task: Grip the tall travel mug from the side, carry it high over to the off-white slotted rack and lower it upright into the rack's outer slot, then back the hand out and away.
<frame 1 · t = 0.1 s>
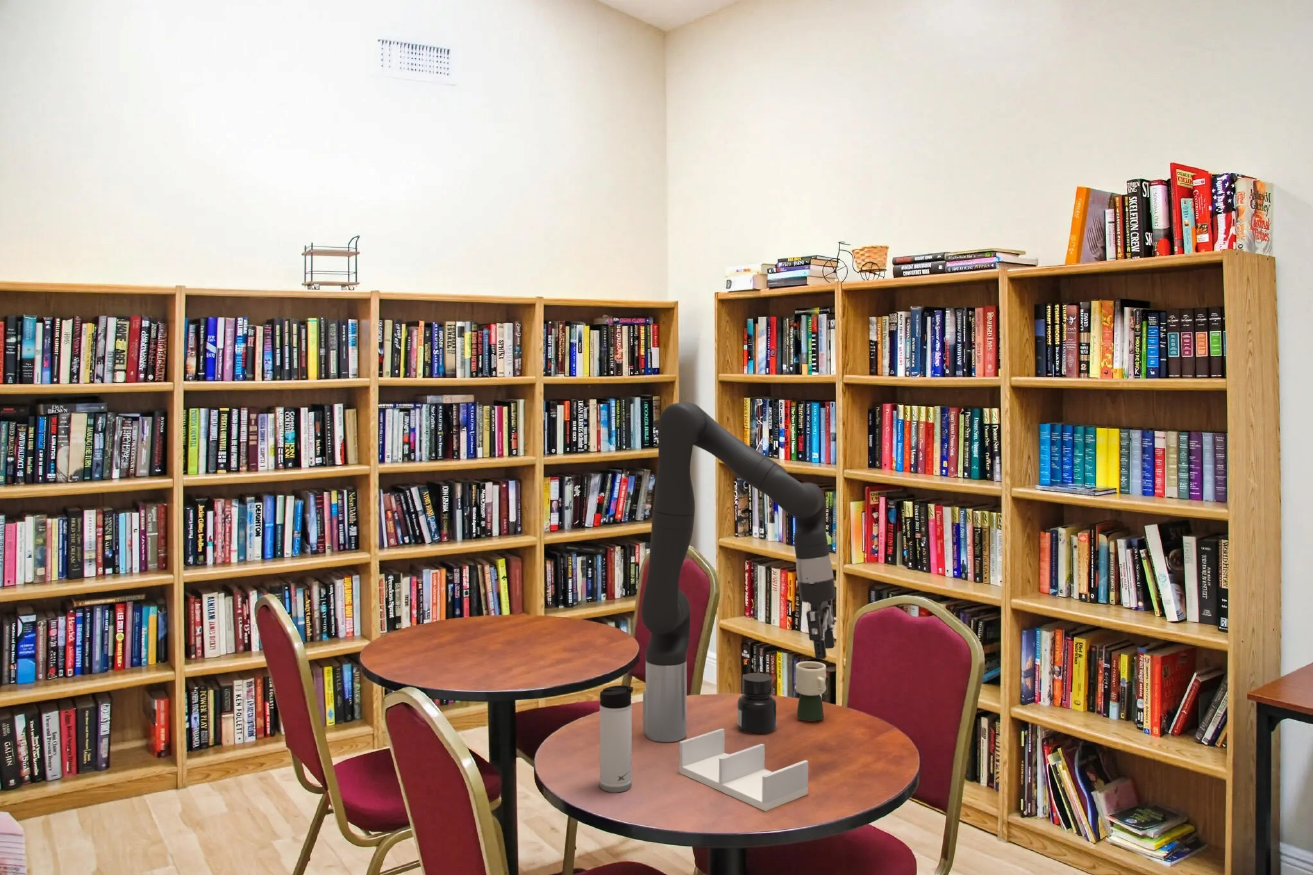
hand: (825, 653, 215), 22 cm above the table, tool pointing down, fingers open, 8 cm apart
rack: (742, 783, 203), on the table
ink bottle: (756, 729, 234), on the table
travel mug: (616, 787, 201), on the table
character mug: (810, 720, 240), on the table
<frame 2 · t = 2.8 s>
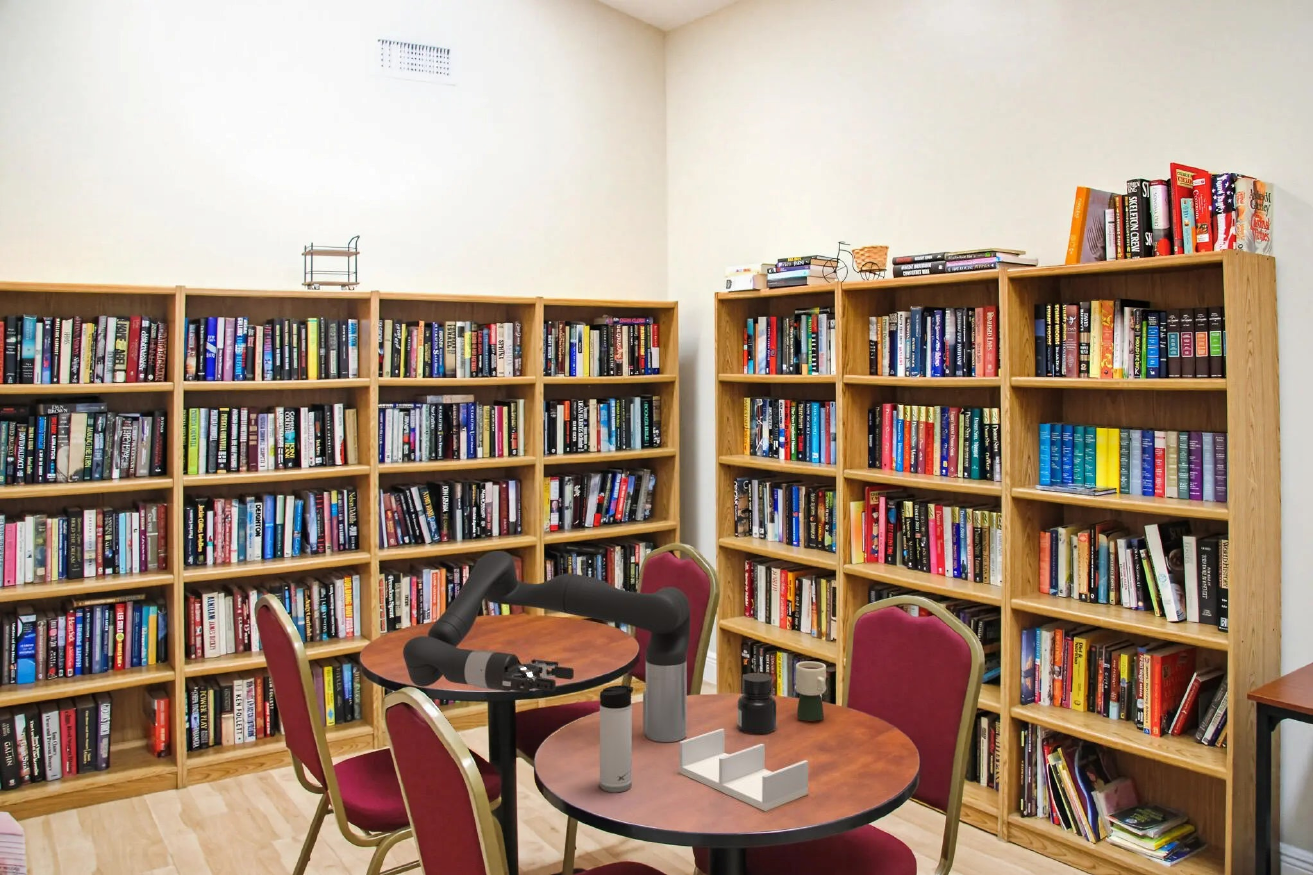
hand: (564, 679, 203), 20 cm above the table, tool horizontal, fingers open, 8 cm apart
nothing on the table moved.
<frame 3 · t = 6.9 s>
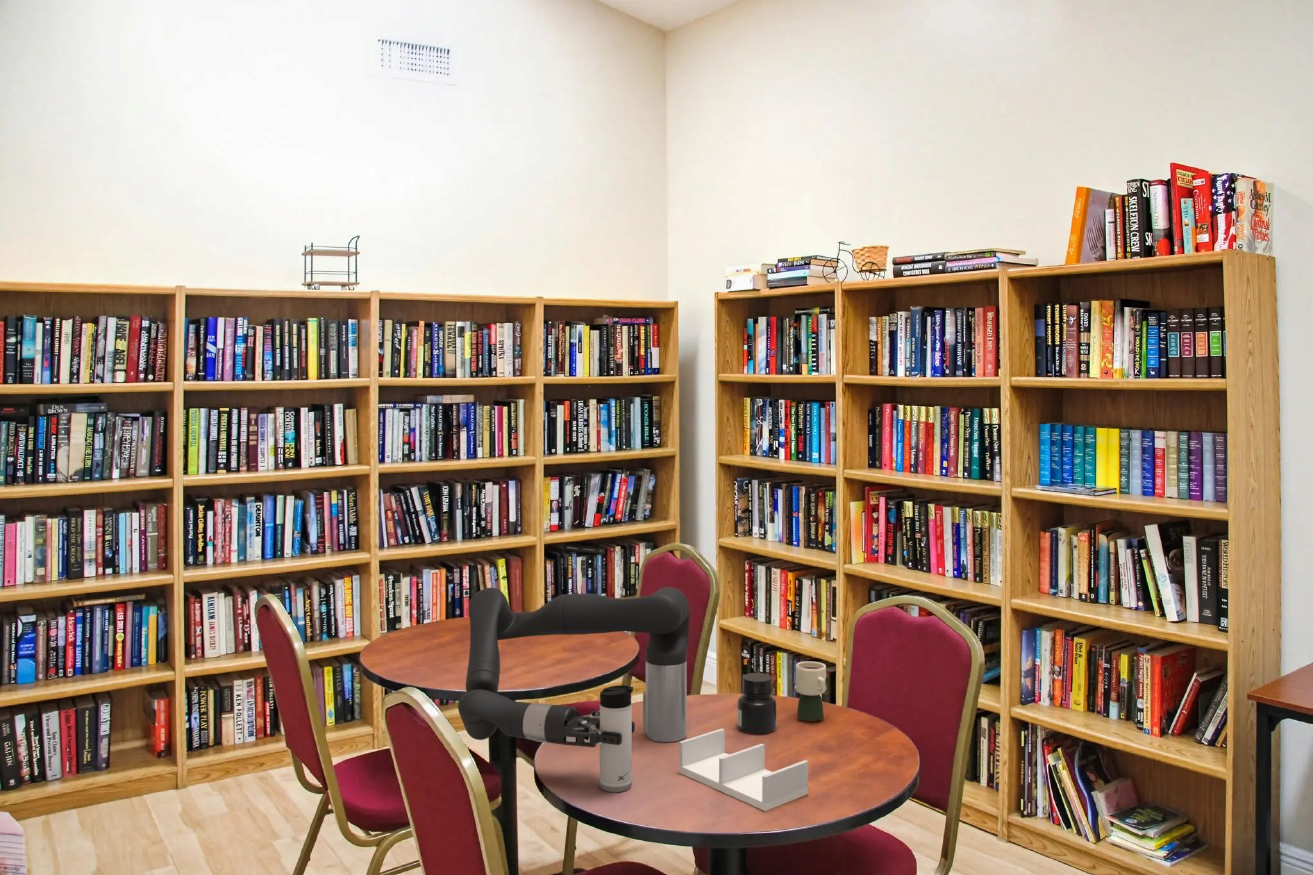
hand: (627, 733, 200), 11 cm above the table, tool horizontal, fingers closed on travel mug, 6 cm apart
travel mug: (616, 787, 201), on the table, touching gripper
everything else where it was.
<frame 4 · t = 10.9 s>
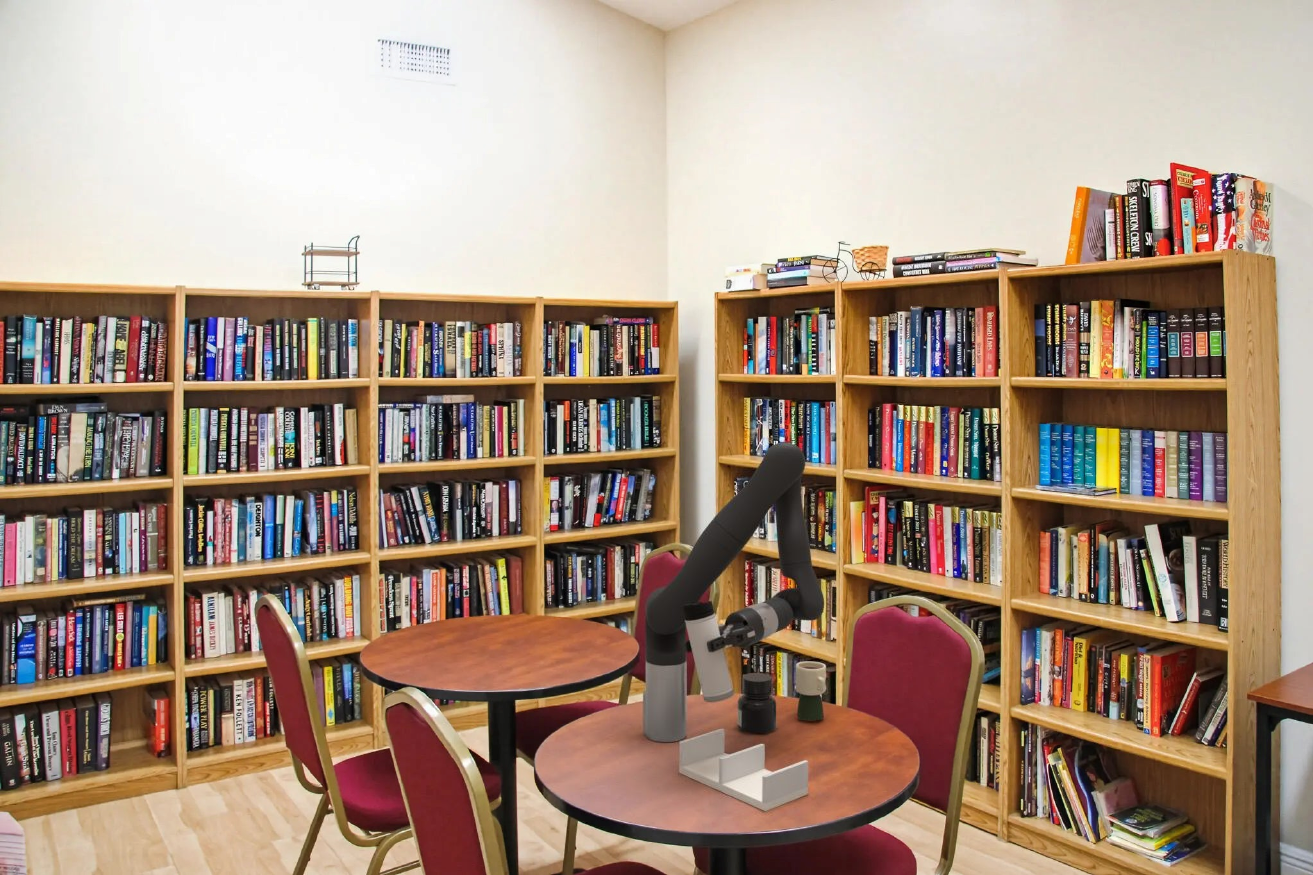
hand: (697, 647, 203), 27 cm above the table, tool horizontal, fingers closed on travel mug, 6 cm apart
travel mug: (718, 698, 204), point 16 cm above the table, touching gripper
everything else where it was.
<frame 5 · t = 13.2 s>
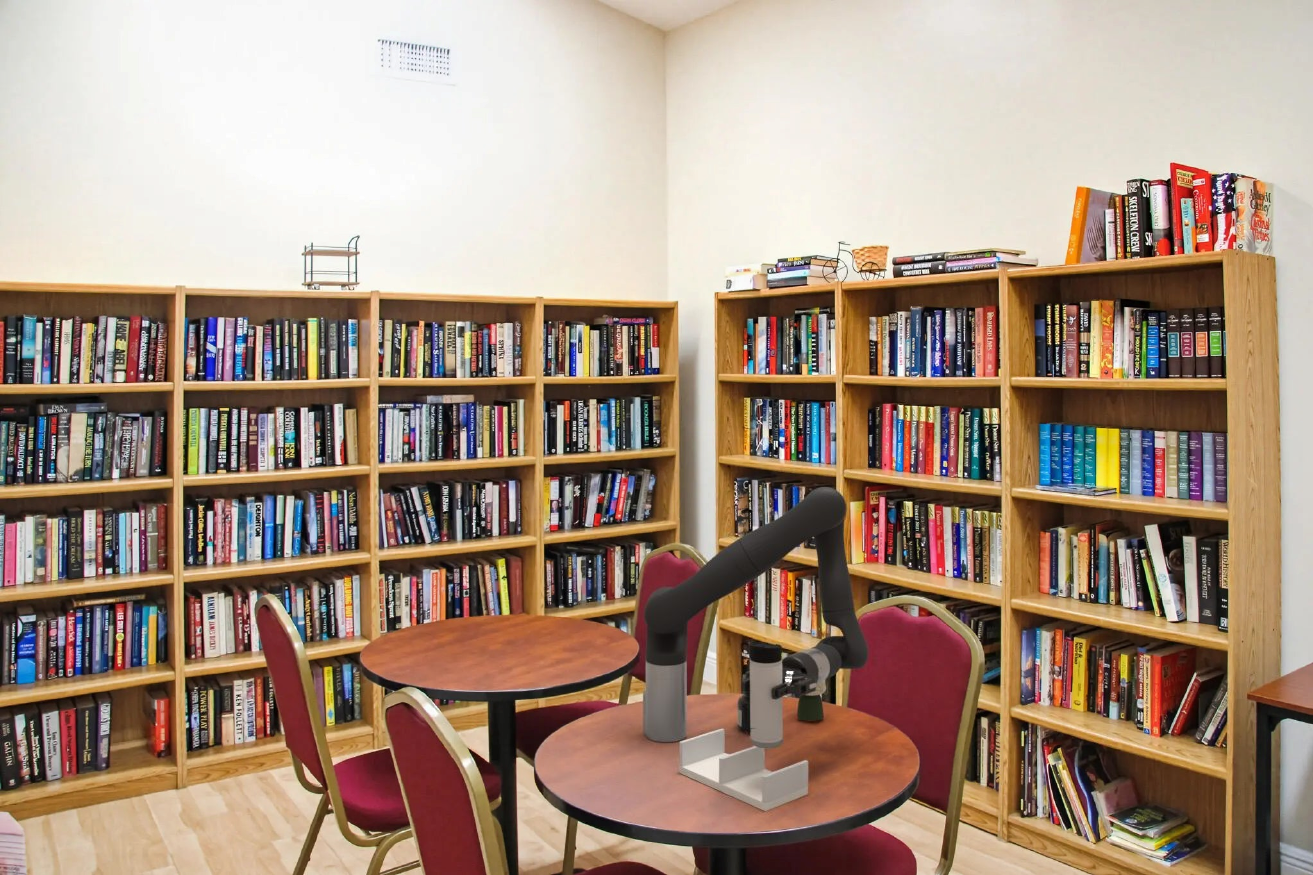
hand: (758, 690, 195), 21 cm above the table, tool horizontal, fingers closed on travel mug, 6 cm apart
travel mug: (766, 744, 198), point 10 cm above the table, touching gripper
everything else where it was.
when the fingers open (14 cm above the table, at t = 15.2 s): travel mug stays where it is, resting on rack.
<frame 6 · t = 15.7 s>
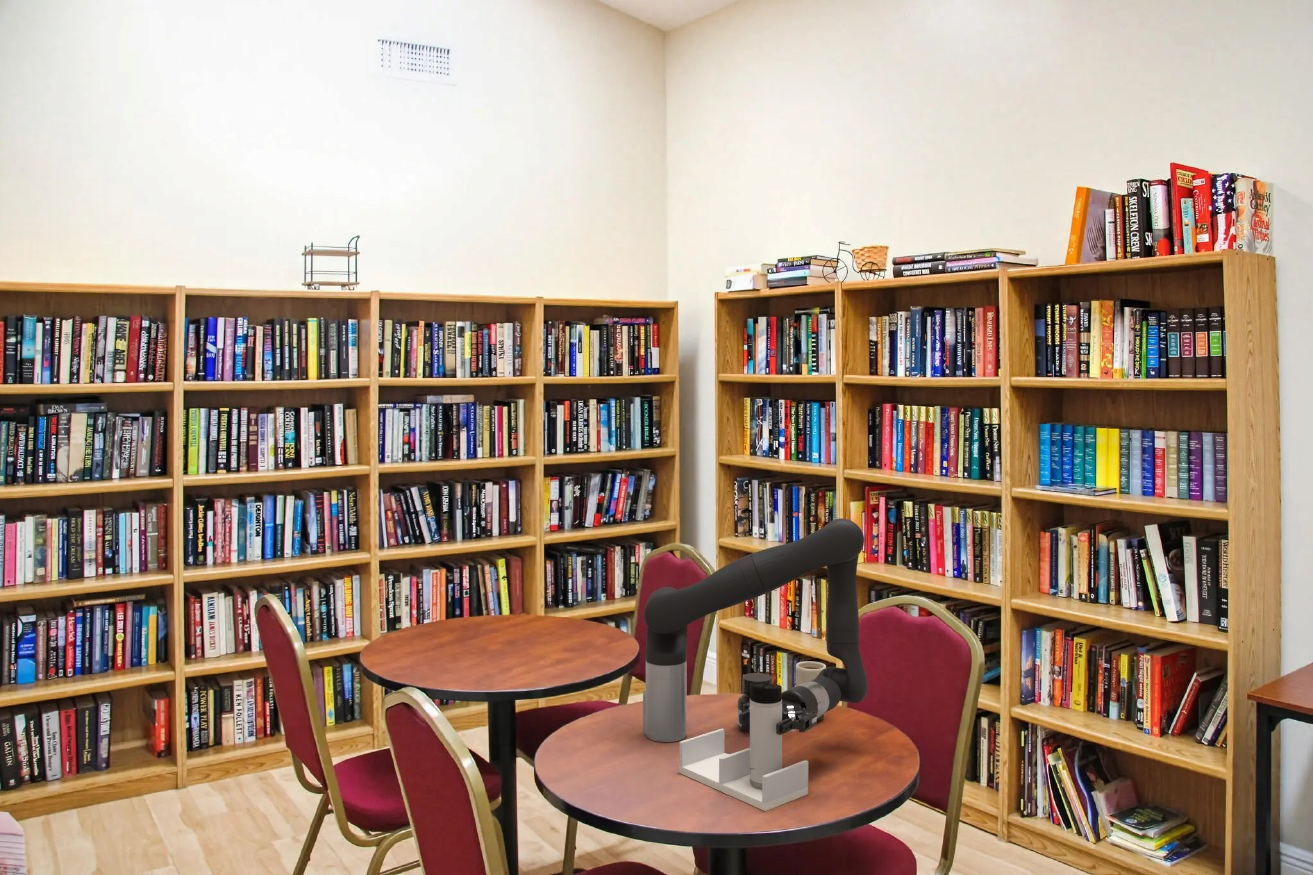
hand: (759, 724, 196), 14 cm above the table, tool horizontal, fingers open, 8 cm apart
travel mug: (765, 784, 198), point 1 cm above the table, touching rack
everything else where it was.
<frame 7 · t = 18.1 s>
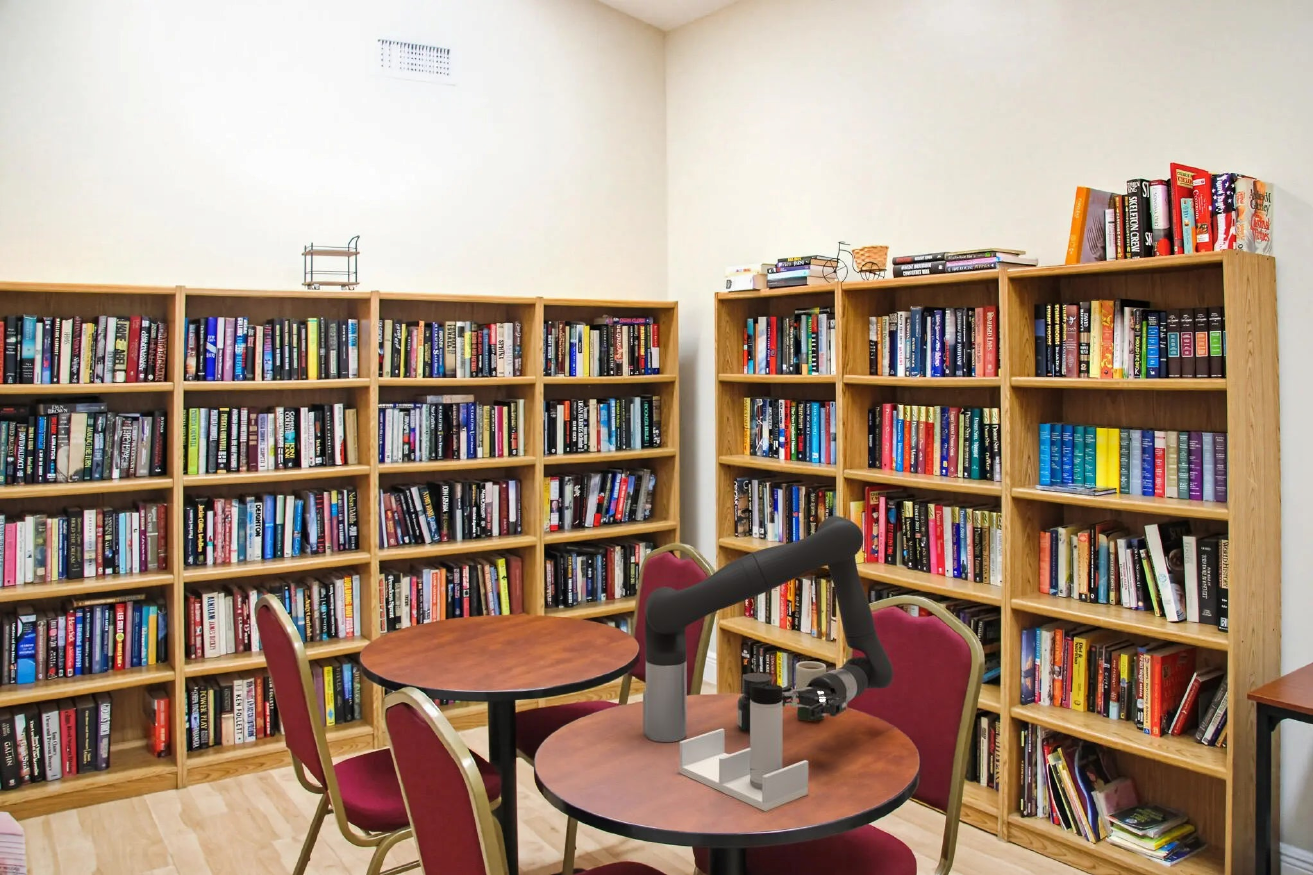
hand: (791, 709, 205), 14 cm above the table, tool horizontal, fingers open, 8 cm apart
nothing on the table moved.
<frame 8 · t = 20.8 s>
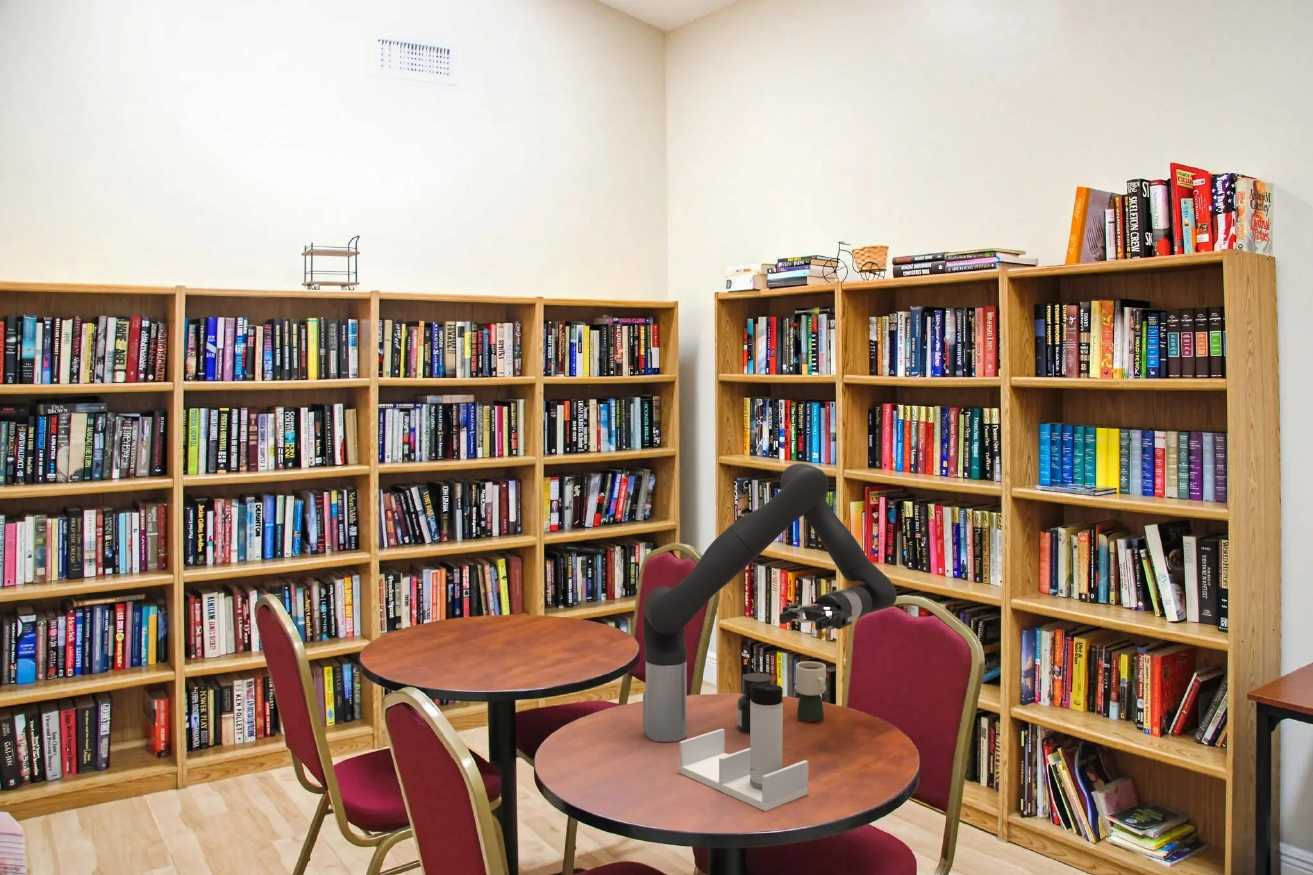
hand: (798, 622, 211), 30 cm above the table, tool horizontal, fingers open, 8 cm apart
nothing on the table moved.
at the end: travel mug inside the target area on the rack (0.5 cm from its centre), point 1.3 cm above the rack's base; travel mug tilted 1°; the gripper is holding nothing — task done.
